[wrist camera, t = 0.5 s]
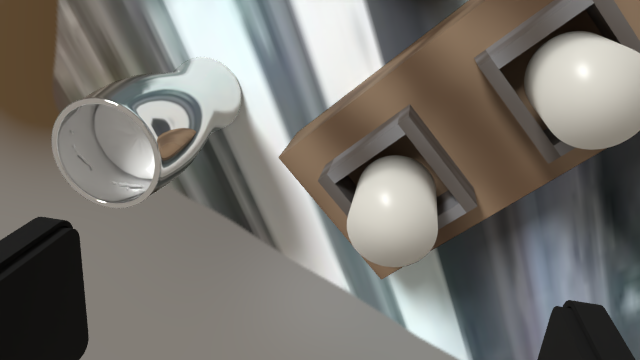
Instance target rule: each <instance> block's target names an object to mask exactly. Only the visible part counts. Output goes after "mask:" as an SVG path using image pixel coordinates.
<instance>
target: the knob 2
mask: <svg viewBox="0 0 640 360" xmlns="http://www.w3.org/2000/svg"><path fill="white" fill-rule="evenodd" d="M524 88H525V93H526V96H527V98H528V100H529V102H530V104H531V105H532V106H533V108H534V109H535V110H536V112H537V113H538V114H539V116H540V117H541V119H542V120H543V121H544V123H545V124H546V125H547V127H548V128H549V129H550V131H551V132H552V133H553V134H554V135H555V136H556V137H557V138H558V139H560V140H561V141H563V142H564V143H566V144H568V145H570V146H573V147H576V148H581V149H589V150H595V149H604V148H608V147H612V146H615V145H618V144H620V143H622V142H624V141H626V140H628V139H629V138H631V137H632V136H634V135H635V134H636V133H637V132H639V131H640V53H638V52H637V51H635V50H633V49H631V48H628V47H626V46H624V45H621V44H619V43H617V42H614V41H612V40H609V39H607V38H605V37H602V36H600V35H598V34H595V33H591V32H586V31H572V32H567V33H563V34H560V35H558V36H556V37H553V38H552V39H550V40H548V41H547V42H546V43H544V44H543V45H542V46H541V47H540V48H539V49H538V50H537V51H536V52H535V53H534V55H533V56H532V58H531V59H530V61H529V63H528V65H527V68H526V71H525V76H524Z"/></svg>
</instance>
